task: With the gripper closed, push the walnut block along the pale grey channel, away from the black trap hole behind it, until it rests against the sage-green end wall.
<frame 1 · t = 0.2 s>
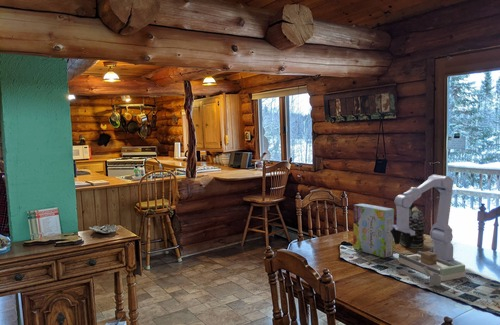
hand: (402, 246, 198), 10 cm above the table, tool pointing down, fingers open, 7 cm apart
lighter: (431, 285, 175), on the table
snack box: (372, 252, 220), on the table
trap channel: (429, 268, 194), on the table
walnut block: (428, 263, 194), point 2 cm above the table, touching trap channel
pine cone: (410, 244, 233), on the table
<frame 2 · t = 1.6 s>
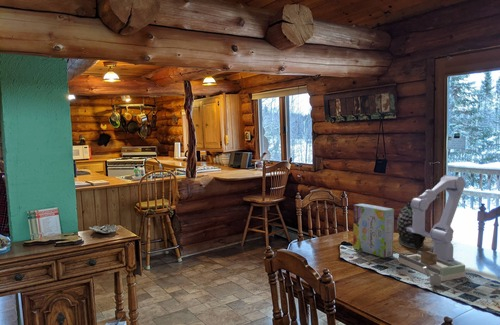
hand: (417, 248, 200), 8 cm above the table, tool pointing down, fingers closed
nothing on the table moved.
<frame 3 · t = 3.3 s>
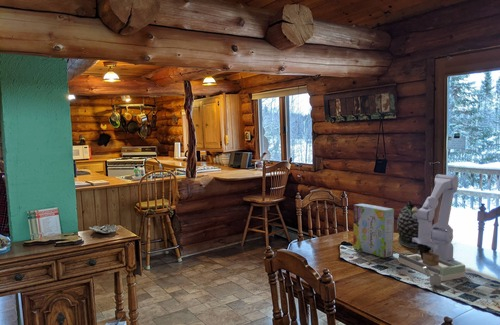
hand: (424, 259, 197), 3 cm above the table, tool pointing down, fingers closed
walnut block: (430, 264, 193), point 3 cm above the table, touching gripper, trap channel
everything else where it was.
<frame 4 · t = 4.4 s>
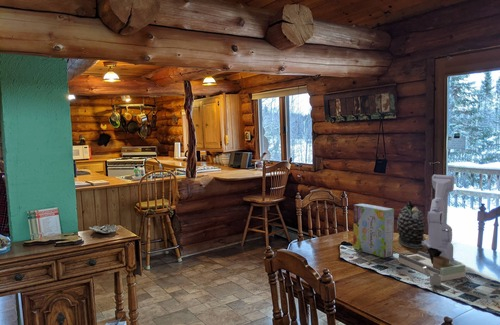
hand: (434, 263, 191), 3 cm above the table, tool pointing down, fingers closed
walnut block: (441, 268, 187), point 3 cm above the table, touching gripper
everything else where it was.
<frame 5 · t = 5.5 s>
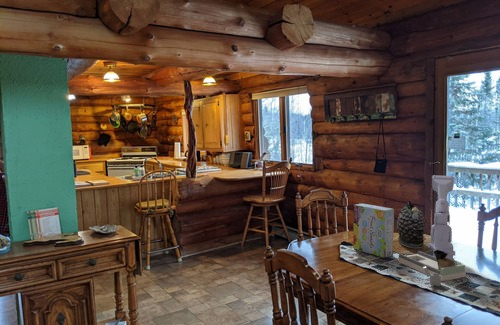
hand: (440, 266, 187), 3 cm above the table, tool pointing down, fingers closed
walnut block: (446, 270, 184), point 3 cm above the table, touching gripper, trap channel
everything else where it was.
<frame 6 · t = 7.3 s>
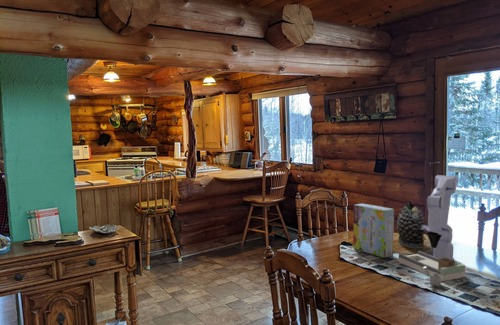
hand: (434, 247, 194), 10 cm above the table, tool pointing down, fingers closed
walnut block: (446, 270, 184), point 2 cm above the table, touching trap channel
everything else where it was.
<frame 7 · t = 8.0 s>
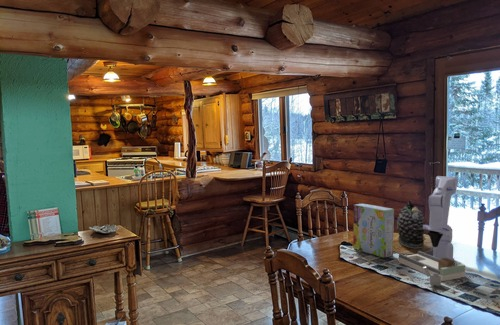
hand: (435, 246, 195), 10 cm above the table, tool pointing down, fingers closed
nothing on the table moved.
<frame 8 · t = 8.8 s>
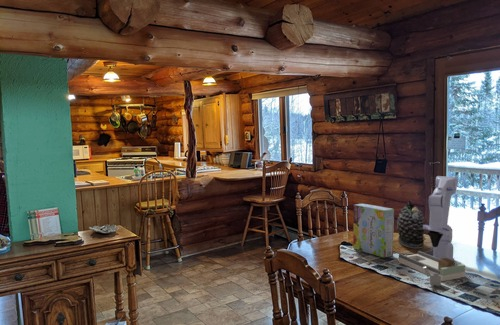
hand: (435, 246, 195), 10 cm above the table, tool pointing down, fingers closed
nothing on the table moved.
at the end: walnut block 0.3 cm from the target spot on the trap channel, point 2.5 cm above the trap channel's base; walnut block tilted 0°; walnut block moved 11.0 cm from its start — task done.
